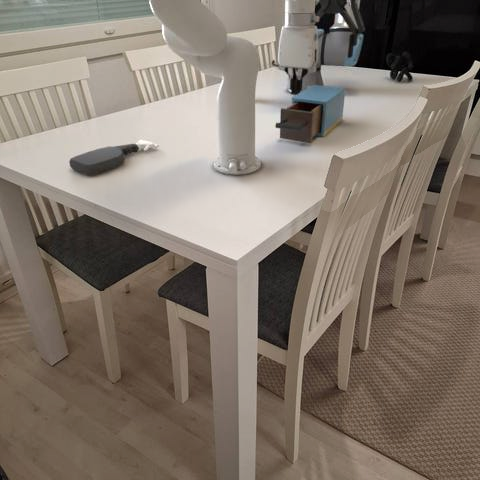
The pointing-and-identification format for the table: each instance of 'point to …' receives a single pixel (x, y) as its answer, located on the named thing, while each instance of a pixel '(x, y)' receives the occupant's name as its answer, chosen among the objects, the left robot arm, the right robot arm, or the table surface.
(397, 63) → the squiggle
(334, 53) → the right robot arm
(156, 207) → the table surface
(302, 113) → the drawer
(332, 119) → the cabinet
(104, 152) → the spray bottle
